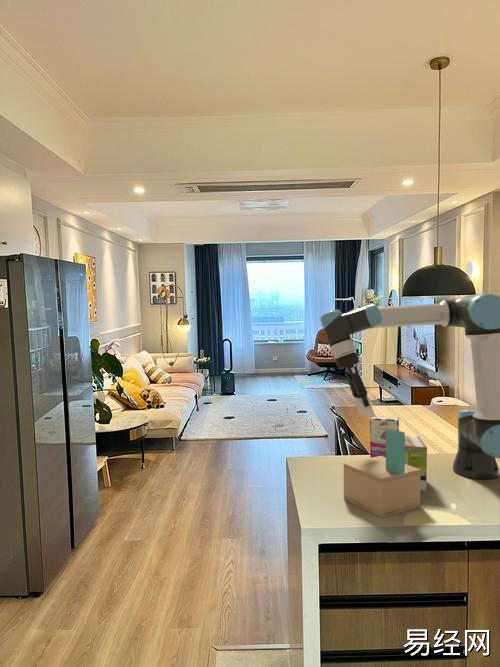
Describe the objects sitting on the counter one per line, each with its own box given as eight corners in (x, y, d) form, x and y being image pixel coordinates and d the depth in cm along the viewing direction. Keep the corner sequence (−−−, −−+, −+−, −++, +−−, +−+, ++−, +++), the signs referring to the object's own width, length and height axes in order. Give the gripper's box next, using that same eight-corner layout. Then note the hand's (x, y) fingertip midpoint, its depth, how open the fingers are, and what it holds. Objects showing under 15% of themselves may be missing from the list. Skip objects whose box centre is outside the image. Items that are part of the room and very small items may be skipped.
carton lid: (343, 466, 140) (343, 425, 139) (380, 458, 148) (380, 419, 147) (381, 482, 126) (381, 436, 126) (420, 472, 134) (420, 429, 133)
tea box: (427, 491, 145) (427, 446, 145) (395, 489, 147) (395, 445, 147) (419, 476, 160) (419, 435, 160) (390, 474, 162) (390, 433, 162)
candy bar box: (399, 457, 182) (399, 417, 182) (398, 461, 177) (398, 420, 177) (371, 454, 186) (371, 415, 186) (369, 458, 182) (369, 418, 181)
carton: (343, 498, 140) (343, 466, 140) (380, 488, 148) (380, 458, 148) (381, 517, 126) (381, 482, 126) (420, 506, 134) (420, 473, 134)
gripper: (332, 361, 163) (352, 417, 159) (337, 355, 139) (361, 421, 135) (351, 354, 163) (372, 410, 159) (360, 347, 138) (385, 413, 134)
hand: (367, 415), depth 147 cm, fingers open, 13 cm apart
